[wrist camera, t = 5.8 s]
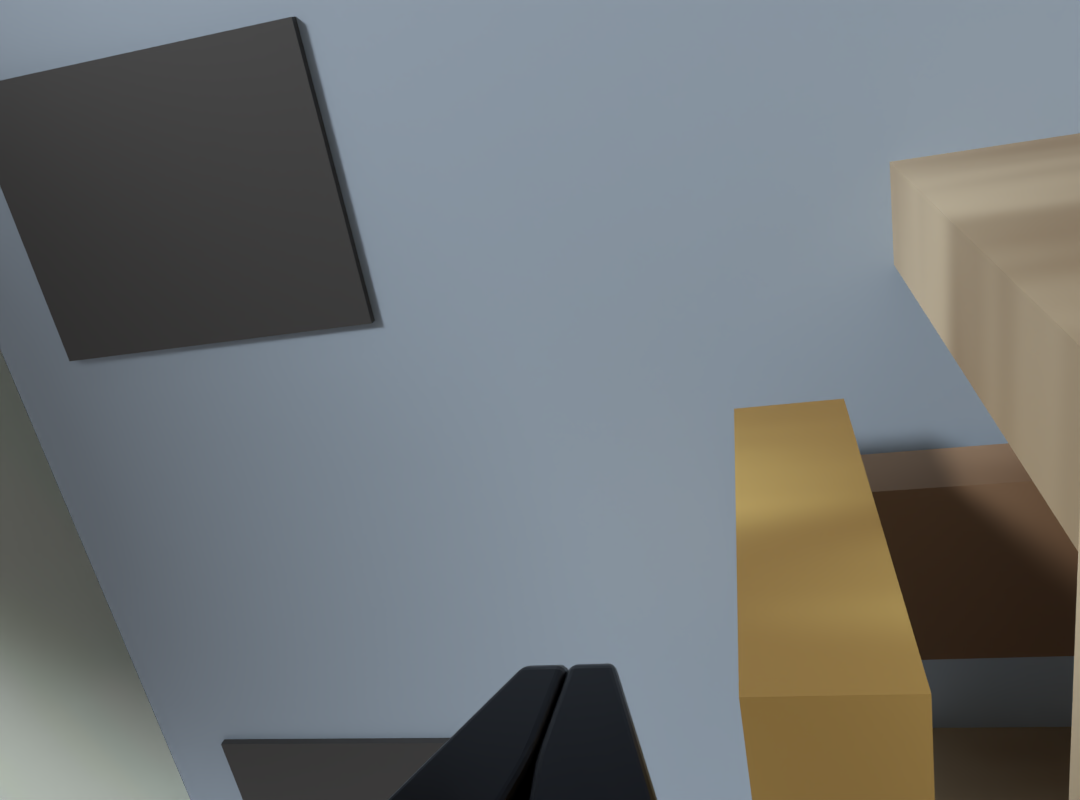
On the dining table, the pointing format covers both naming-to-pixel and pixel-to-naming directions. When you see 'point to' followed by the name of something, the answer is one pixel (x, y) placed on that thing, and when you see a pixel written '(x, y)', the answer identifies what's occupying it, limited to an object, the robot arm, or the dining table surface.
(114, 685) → the dining table surface
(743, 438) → the tan u-shaped piece
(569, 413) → the pale blue flat board
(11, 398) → the dining table surface
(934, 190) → the tunnel
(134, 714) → the dining table surface
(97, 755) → the dining table surface
